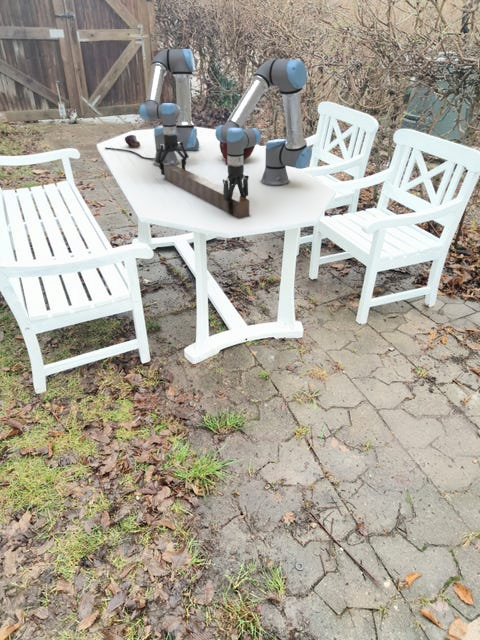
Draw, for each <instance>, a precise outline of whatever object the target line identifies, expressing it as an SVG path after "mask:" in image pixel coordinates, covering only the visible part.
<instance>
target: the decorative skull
mask: <svg viewBox="0 0 480 640" xmlns="http://www.w3.org/2000/svg"><path fill="white" fill-rule="evenodd" d="M242 129H246V128H245V127H242ZM255 147H256V145H255V146H252V147H248V148H245V149H244V161H246V160H247V159H249V157H251V155H252V153H253V152H254V149H255ZM219 150H220V153H221V155H222V157H223V160H225V165H226V166H228V163H227V143H224V142H221V141H219Z"/></svg>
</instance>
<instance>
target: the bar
mask: <svg viewBox="0 0 480 640" xmlns="http://www.w3.org/2000/svg"><path fill="white" fill-rule="evenodd" d="M164 173H165V175H163V176H164V180H166V181H168V182H169V183H172V184H174V185H175V186H177V187H179V188H180V189H182V190H185V191H187V192H189V193H190V194H192V195H194V196H196V197H198V198H200V199H202V200H203V201H206V202H207V203H209V204H211V205H213V206H214V207H217V208H219V209H221V210H223V211H224V212H227V213H228V214H230V213H229V209H228V207H227V201H226V200H224V199H223V191H224V186H221V185H218V184H217V183H214V182H213V181H210V180H207V178H206V179H205V178H203V177H201V176H200V175H198V174H195V173H193V172H191V171H188V170H187V169H185V170H184V169H182V167H180V166H178V165H174V164H168V165H164ZM231 201H233V214H231V215H233V216H234V217H236V218H238V219H242V218H246V217H247V218H248V217H250V199H249V198H247V197H246V198H244V197H242V196H241V195H240V194H238V193H235V192H233V195H232V200H231Z"/></svg>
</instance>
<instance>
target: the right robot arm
mask: <svg viewBox="0 0 480 640" xmlns="http://www.w3.org/2000/svg"><path fill="white" fill-rule="evenodd" d="M307 72H308V71H307V68H306V65H305V63H304V62H303V61H302V60H297V59H294V58H292V59H290V58H289V59H286V58H271V59H268V60H267V61H265V62H263V64H262V65H260V66H259V67H258V68H257V69H256V71H255V72H254V73H253V75H252V76H251V78H250V84H249V85H248V87H247V88H246V90H245V92H244V93H243V95H242V96H241V98H240V99H239V102H238V103H237V104H236V106H235V108H234V109H233V111H232V112H231V114H230V115H229V117H228V119H227V120H226V122H225V124H220V125H218V126H217V127H216V129H215V138H216V140H217V141H218V142H220V141H221V142H224V143H227V178H223V179H222V184H223V188H224V191H223V199H224V200H226V201H227V207H228V209H229V213H228V214H230V215H232V214H233V201H231V200H232V195H233V193H234V190H235V188H236V185H237V188H238V191H239V195H240V196H242V197H244V198H246V199H247V197H248V196H249V177H250V176H249V175H248V174H245V168H244V167H245V166H244V165H245V164H244V161H245V160H244V149H245V148H248V147H252V146H255V147H256V146H257V145H258V144H260V142H261V140H262V134H261V132H260V131H259V129H258V128H255V127H254V128H251V127H250V128H245V129H242V128H243V126H244V125H245V124H246V122H247V120H248V119H249V117H250V115H251V113H252V112H253V110H254V109H255V107H256V106H257V104H258V102H259V101H260V99H261V97H262V96H263V94H264V93H266V92H267V91H268V90H269V88H271V87H278V93H279V94H280V95H281V96H282V103H283V113H284V114H283V115H284V124H285V132H286V133H285V134H286V138H275V139H270V140H268V141H266V144H265V167H264V171H263V173H262V177H261V183H262V184H264V185H267V186H284V185H287V184H288V183H289V176H288V172H287V167H289V168H294V169H301V170H302V169H303V170H304V169H306V168H307V166H308V165H309V163H310V161H311V158H312V153H313V150H312V148H311V147H310V146H308V143H307V140H306V139H305V138H304V130H303V129H304V128H303V117H302V104H301V92H302V91H303V89H304V86H305V85H306V83H307V78H308V73H307Z"/></svg>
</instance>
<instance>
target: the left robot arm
mask: <svg viewBox="0 0 480 640" xmlns="http://www.w3.org/2000/svg"><path fill="white" fill-rule="evenodd" d="M195 64H196V63H195V58H194V54H193V52H192V50H191V49H188V48H164V49H162V50H160V51H159V52H158V53H156V54H155V56H154V57H153V59H152V60H151V63H150V68H149V70H150V73H151V74H150V78H149V83H148V88H147V92H146V99H145V103H143V104H140V105H139V115H140V117H141V119H143V120H161V123H162V125H159V126H156V127H155V128H154V129H153V133H154V134H153V136H154V145H155V155H154V157H145V156H142V155H141V154H140V153H137V152H136V151H132V150H130V149H129V150H128V149H123V148H114V147H106V146H105V147H104V149H105V150H114V151H122V152H129V153H132V154H135V155H136V156H139V157H140V158H141V159H145V160H151V161H153V160H154V165H155V166H157V167H158V168H159V170H160V174H161V175H162V176H164V175H165V173H164V165H168V164H174V165H176V166H178V164H179V159H178V157H177V154H178V155H179V157H180V158H181V159H180V163H181V168H182V169H184V170H186V165H187V159H188V158H189V155H188V153H187V150H185V149H184V147H185V148H189V147H194V146H195V144H196V139H198V129H197V128H196V127H195V124H194V123H193V121H192V100H191V99H192V98H191V97H192V96H191V78H192V76H193V73H194V72H196V65H195ZM168 72H170V73H171V72H172V76H173V77H174V78H175V95H176V97H175V98H176V103H173V102H163V103H161V104H160V101H161V96H162V90H163V84H164V79H165V77H166V75H167V74H168ZM177 147H180V148H181V150H179V149H178V148H177Z"/></svg>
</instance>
